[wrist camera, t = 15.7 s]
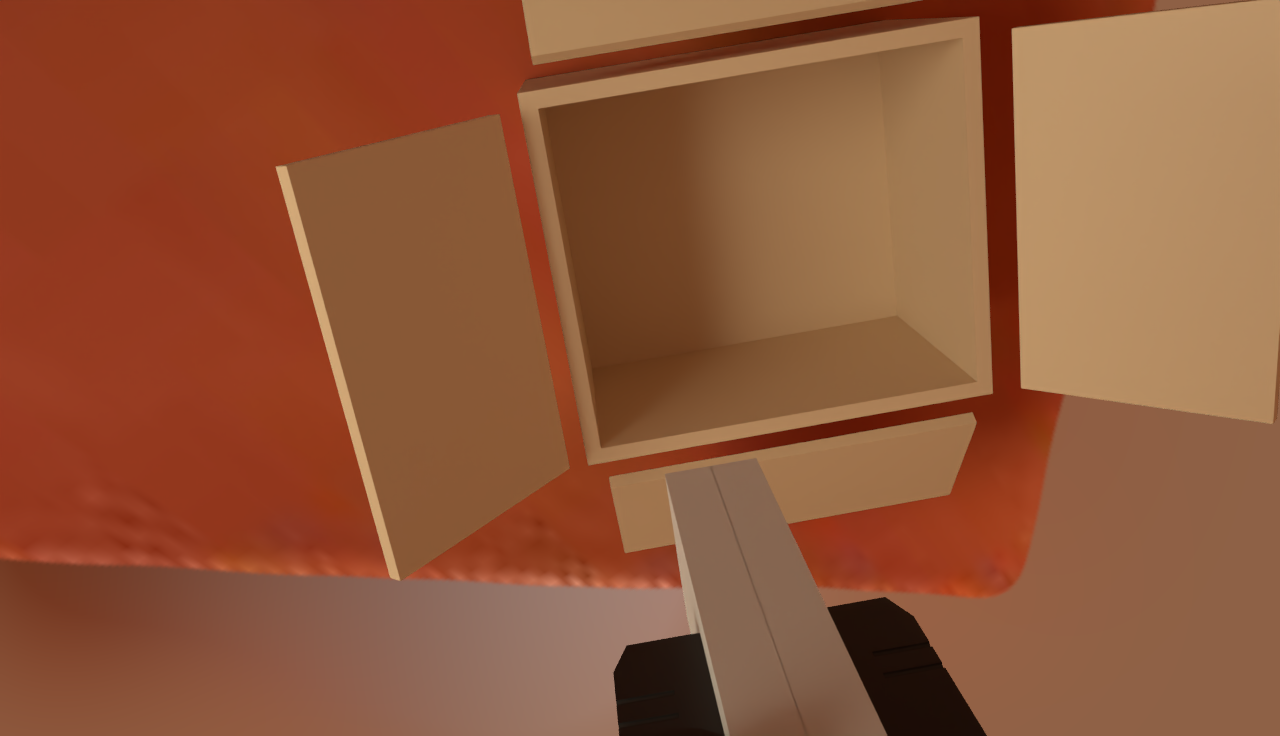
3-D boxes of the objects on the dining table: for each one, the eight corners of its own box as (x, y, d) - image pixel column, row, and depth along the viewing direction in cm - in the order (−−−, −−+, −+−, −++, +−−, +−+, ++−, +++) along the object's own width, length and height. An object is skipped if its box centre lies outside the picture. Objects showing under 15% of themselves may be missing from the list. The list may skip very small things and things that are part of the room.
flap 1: (569, 468, 36) (559, 466, 37) (499, 114, 32) (488, 115, 32) (400, 581, 31) (390, 577, 31) (286, 166, 26) (275, 166, 27)
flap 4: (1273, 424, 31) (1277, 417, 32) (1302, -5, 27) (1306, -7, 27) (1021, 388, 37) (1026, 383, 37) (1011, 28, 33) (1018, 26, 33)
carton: (581, 380, 47) (588, 467, 38) (525, 80, 42) (517, 93, 33) (906, 323, 48) (993, 395, 38) (885, 19, 43) (979, 16, 33)
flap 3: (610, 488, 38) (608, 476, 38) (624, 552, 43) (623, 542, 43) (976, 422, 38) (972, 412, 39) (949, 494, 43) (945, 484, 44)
